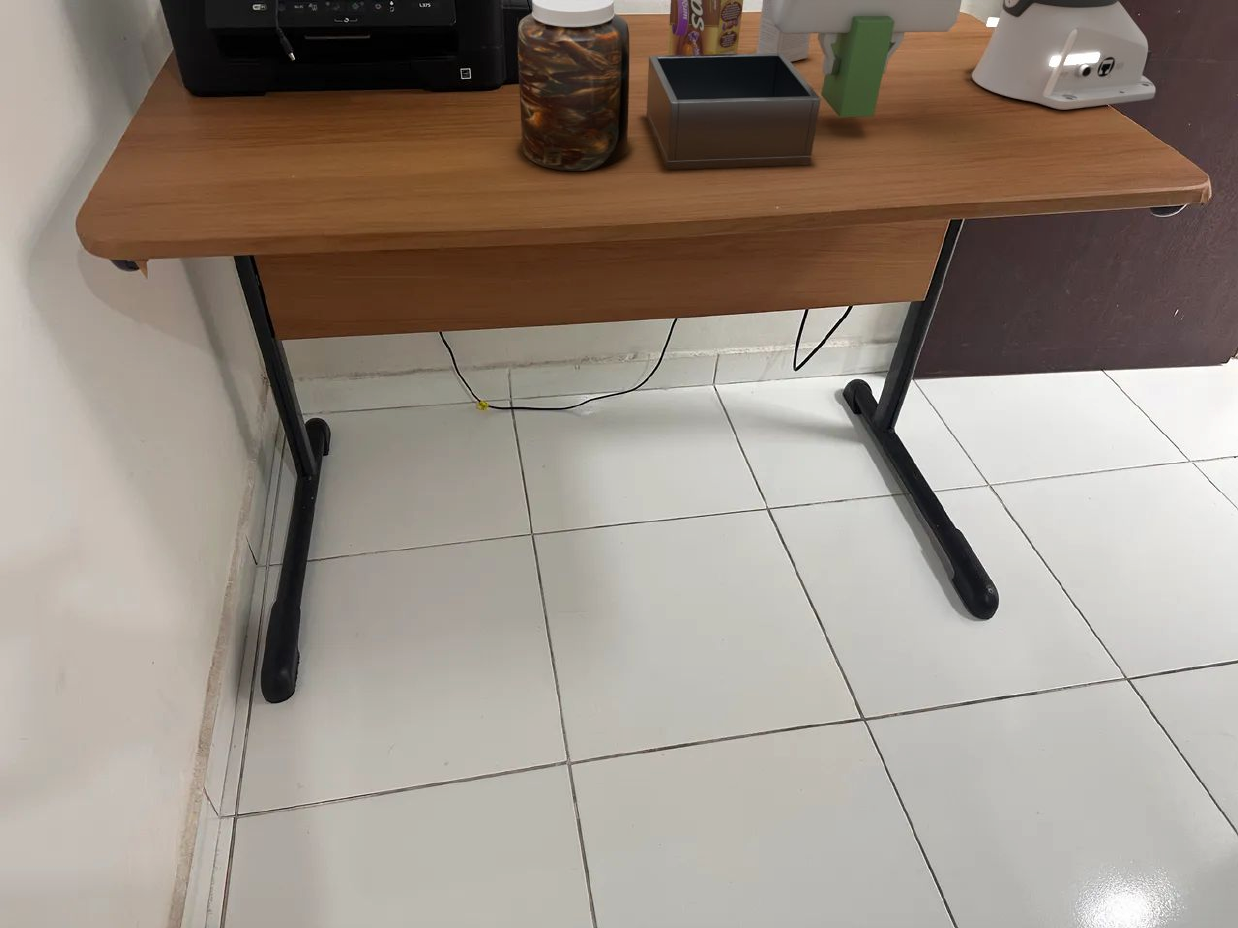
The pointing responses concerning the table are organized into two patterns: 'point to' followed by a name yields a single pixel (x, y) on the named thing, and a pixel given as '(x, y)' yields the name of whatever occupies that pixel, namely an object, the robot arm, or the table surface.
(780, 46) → the cosmetic box
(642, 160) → the table surface
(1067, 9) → the robot arm
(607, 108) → the jar
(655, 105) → the open box
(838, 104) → the block
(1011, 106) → the table surface
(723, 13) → the candy box
